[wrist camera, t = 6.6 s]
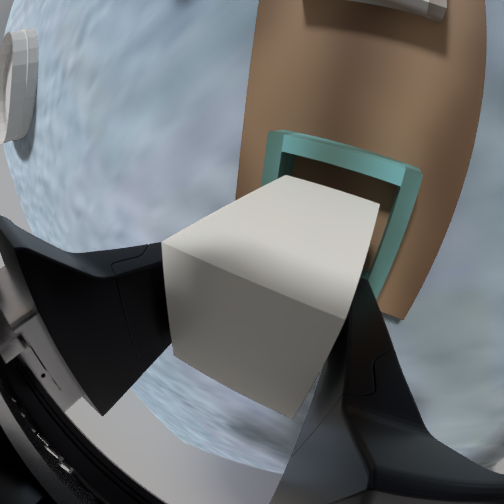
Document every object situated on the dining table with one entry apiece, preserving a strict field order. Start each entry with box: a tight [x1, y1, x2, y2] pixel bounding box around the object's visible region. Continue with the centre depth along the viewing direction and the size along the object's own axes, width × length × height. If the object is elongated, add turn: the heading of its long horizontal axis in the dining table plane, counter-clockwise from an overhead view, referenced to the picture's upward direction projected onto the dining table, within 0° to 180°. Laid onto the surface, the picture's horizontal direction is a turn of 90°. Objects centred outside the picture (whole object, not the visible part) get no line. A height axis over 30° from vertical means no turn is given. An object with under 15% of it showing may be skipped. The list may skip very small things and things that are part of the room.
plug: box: [161, 175, 380, 419], centre depth 9 cm, size 4×4×7 cm
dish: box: [0, 28, 39, 144], centre depth 27 cm, size 22×22×5 cm
